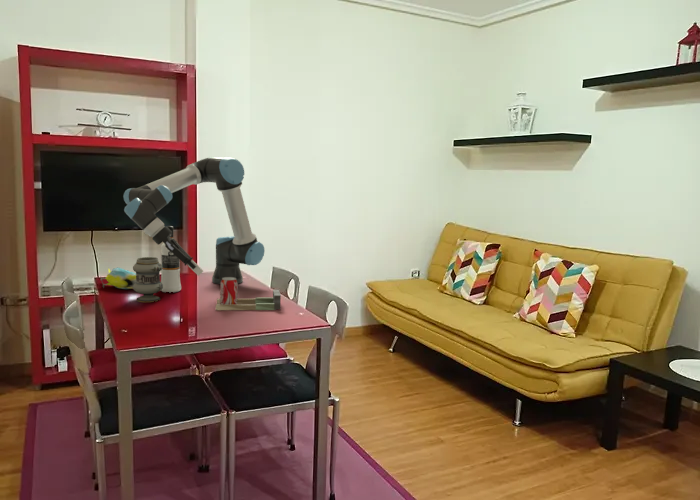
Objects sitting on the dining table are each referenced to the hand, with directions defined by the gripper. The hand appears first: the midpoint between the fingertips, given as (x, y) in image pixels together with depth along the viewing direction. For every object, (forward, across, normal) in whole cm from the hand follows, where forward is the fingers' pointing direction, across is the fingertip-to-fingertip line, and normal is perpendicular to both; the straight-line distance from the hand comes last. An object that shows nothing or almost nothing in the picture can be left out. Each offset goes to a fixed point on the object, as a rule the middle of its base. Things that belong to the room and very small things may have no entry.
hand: (200, 273), depth 231 cm
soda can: (+18, 0, -2) cm, 18 cm away
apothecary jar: (-6, -13, -26) cm, 30 cm away
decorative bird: (-15, -41, -35) cm, 56 cm away
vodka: (-1, -31, -21) cm, 38 cm away
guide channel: (+24, 0, +4) cm, 24 cm away
